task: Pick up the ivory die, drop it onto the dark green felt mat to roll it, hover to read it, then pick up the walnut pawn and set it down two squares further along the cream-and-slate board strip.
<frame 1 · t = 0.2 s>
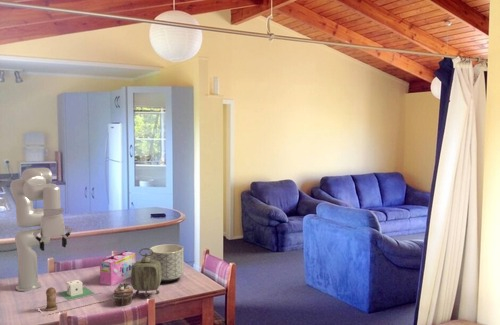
hand: (53, 248, 220), 31 cm above the table, fingers open, 9 cm apart
gum box: (118, 279, 271), on the table
pawn: (51, 309, 226), resting on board
planter: (166, 279, 270), on the table
die: (74, 293, 247), resting on dice mat
dice mat: (76, 293, 248), on the table
cupcake: (123, 303, 234), on the table
tabletop clock: (146, 296, 245), on the table
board: (74, 304, 233), on the table
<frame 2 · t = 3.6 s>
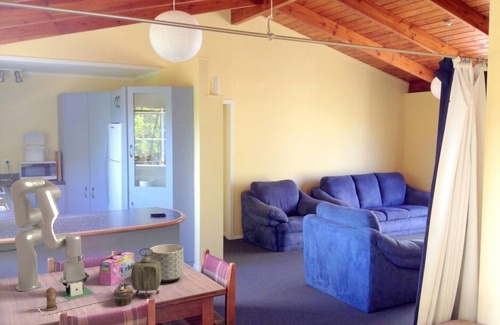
hand: (74, 292, 247), 1 cm above the table, fingers closed on die, 6 cm apart
die: (74, 293, 247), resting on dice mat, touching gripper
when the fingers open (9 cm above the table, at t = 5.6 s): die drops 8 cm, resting on dice mat.
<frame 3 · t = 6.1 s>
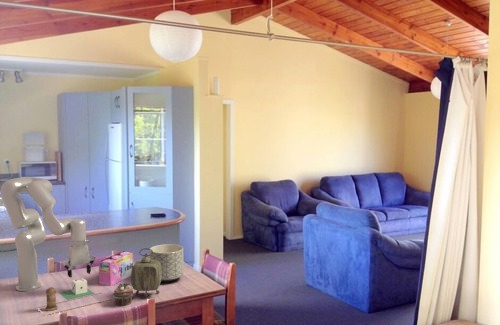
hand: (79, 275, 249), 9 cm above the table, fingers open, 9 cm apart
die: (79, 291, 250), resting on dice mat
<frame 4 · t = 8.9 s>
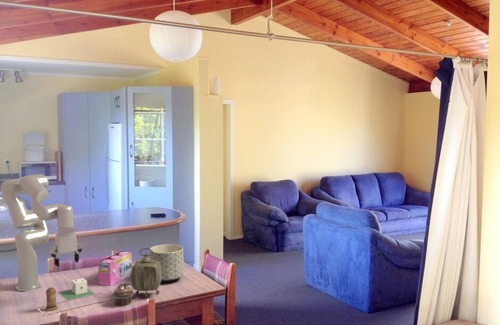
hand: (67, 263, 237), 19 cm above the table, fingers open, 9 cm apart
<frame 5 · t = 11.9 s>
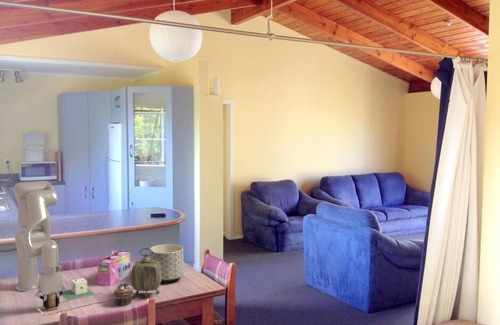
hand: (51, 306, 226), 2 cm above the table, fingers closed on pawn, 4 cm apart
pawn: (51, 309, 226), resting on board, touching gripper
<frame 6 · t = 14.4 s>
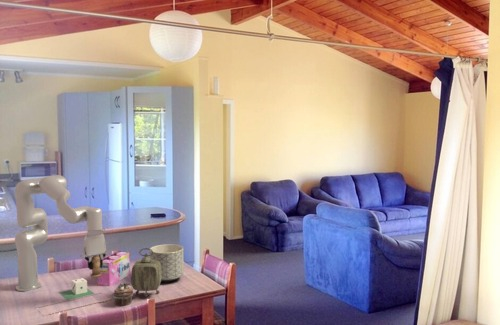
hand: (95, 267, 239), 16 cm above the table, fingers closed on pawn, 4 cm apart
pawn: (96, 276, 238), point 12 cm above the table, touching gripper
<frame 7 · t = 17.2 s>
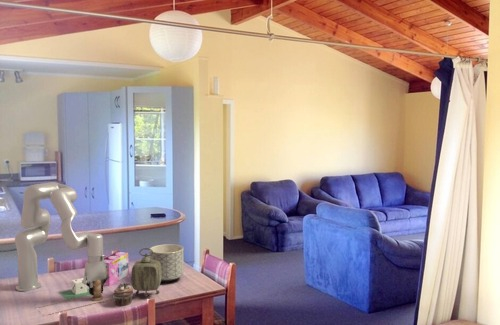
hand: (96, 293, 240), 3 cm above the table, fingers closed on pawn, 4 cm apart
pawn: (97, 299, 239), resting on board, touching gripper
when the fingers open (3 cm above the table, at t = 17.2 s): pawn stays where it is, resting on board.
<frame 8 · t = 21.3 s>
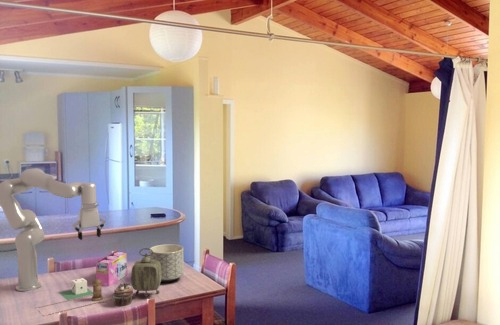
hand: (89, 237, 251), 28 cm above the table, fingers open, 9 cm apart
pawn: (97, 299, 239), resting on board
at the end: pawn inside the target area (1.3 cm from its centre), resting on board; pawn tilted 1°; the gripper is holding nothing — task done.
